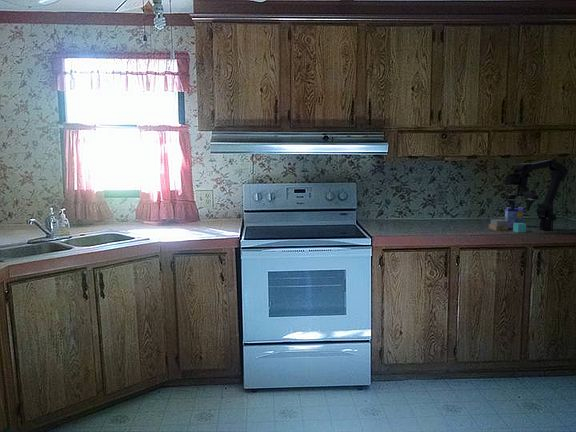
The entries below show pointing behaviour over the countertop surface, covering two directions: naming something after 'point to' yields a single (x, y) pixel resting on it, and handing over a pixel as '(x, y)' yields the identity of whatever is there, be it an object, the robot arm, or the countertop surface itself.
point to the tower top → (499, 222)
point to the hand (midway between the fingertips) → (520, 211)
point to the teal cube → (519, 227)
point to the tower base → (498, 227)
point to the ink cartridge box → (514, 215)
